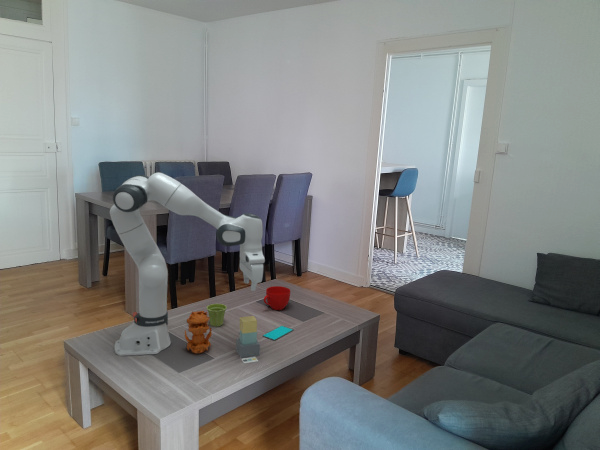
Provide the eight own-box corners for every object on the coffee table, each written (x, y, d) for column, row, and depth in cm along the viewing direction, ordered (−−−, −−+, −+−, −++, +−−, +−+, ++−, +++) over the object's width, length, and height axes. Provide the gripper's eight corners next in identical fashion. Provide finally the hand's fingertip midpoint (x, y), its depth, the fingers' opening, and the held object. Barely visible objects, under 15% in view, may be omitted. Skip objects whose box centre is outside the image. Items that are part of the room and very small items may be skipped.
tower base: (240, 358, 180) (241, 347, 179) (235, 349, 187) (236, 338, 186) (259, 355, 183) (259, 344, 182) (253, 347, 190) (254, 336, 189)
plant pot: (208, 329, 205) (209, 311, 204) (204, 321, 214) (204, 304, 212) (228, 326, 209) (228, 309, 208) (223, 319, 218) (223, 302, 216)
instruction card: (243, 363, 176) (243, 363, 176) (241, 358, 180) (241, 358, 179) (258, 361, 178) (258, 360, 178) (255, 356, 182) (255, 356, 182)
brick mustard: (242, 333, 180) (243, 322, 179) (239, 328, 184) (239, 317, 183) (256, 331, 182) (257, 320, 181) (253, 327, 187) (253, 315, 186)
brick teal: (242, 345, 181) (242, 333, 180) (239, 339, 185) (239, 328, 184) (256, 343, 183) (257, 331, 182) (253, 338, 188) (253, 327, 187)
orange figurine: (187, 358, 178) (187, 316, 174) (182, 346, 187) (182, 306, 184) (214, 354, 182) (215, 313, 179) (208, 342, 192) (209, 303, 189)
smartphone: (293, 329, 209) (274, 340, 197) (293, 331, 209) (274, 341, 197) (281, 325, 213) (261, 335, 201) (281, 327, 213) (261, 337, 201)
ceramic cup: (255, 309, 233) (255, 291, 231) (277, 301, 245) (277, 284, 244) (272, 316, 224) (273, 297, 223) (294, 308, 237) (295, 290, 235)
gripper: (236, 247, 185) (235, 279, 188) (250, 260, 167) (249, 295, 169) (250, 247, 188) (249, 278, 190) (266, 259, 169) (265, 294, 172)
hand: (249, 286), depth 180 cm, fingers open, 8 cm apart
